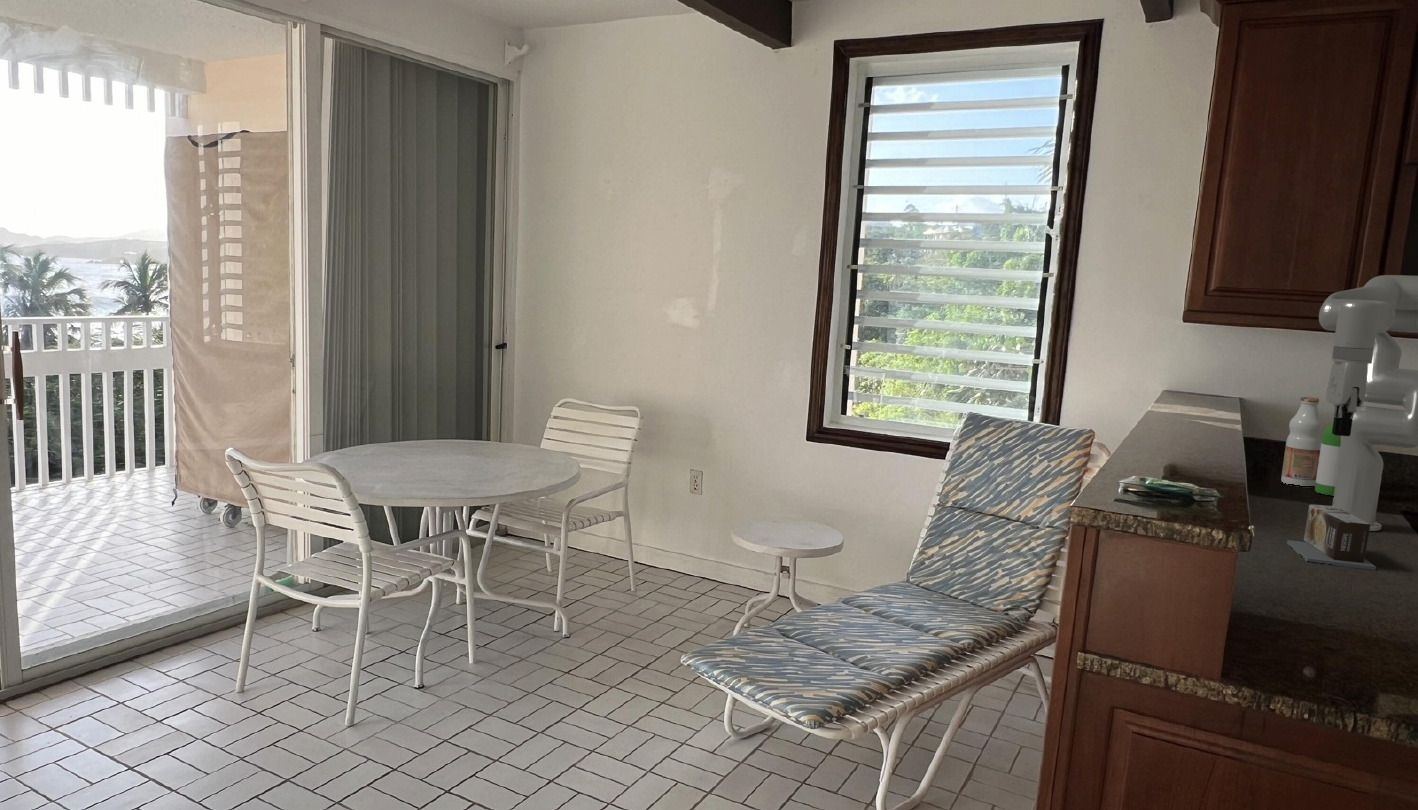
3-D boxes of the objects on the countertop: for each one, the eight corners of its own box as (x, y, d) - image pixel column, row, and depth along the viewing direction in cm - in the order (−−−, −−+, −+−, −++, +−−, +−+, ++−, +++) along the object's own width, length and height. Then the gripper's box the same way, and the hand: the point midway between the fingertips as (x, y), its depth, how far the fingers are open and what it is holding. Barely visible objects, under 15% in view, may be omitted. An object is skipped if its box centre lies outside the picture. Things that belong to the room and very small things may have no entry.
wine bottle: (1351, 498, 273) (1365, 399, 269) (1325, 497, 273) (1339, 398, 269) (1333, 492, 281) (1347, 396, 277) (1308, 491, 281) (1322, 395, 277)
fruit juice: (1273, 481, 294) (1285, 395, 290) (1297, 481, 296) (1309, 396, 292) (1298, 487, 285) (1310, 399, 281) (1322, 487, 287) (1335, 400, 283)
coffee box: (1307, 503, 217) (1338, 519, 201) (1337, 506, 216) (1371, 522, 200) (1302, 541, 218) (1333, 559, 203) (1332, 544, 217) (1365, 563, 201)
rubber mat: (1286, 543, 218) (1287, 540, 218) (1349, 550, 214) (1350, 547, 214) (1307, 562, 203) (1307, 558, 203) (1375, 570, 199) (1375, 566, 199)
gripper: (1322, 352, 214) (1311, 428, 217) (1344, 357, 200) (1332, 439, 203) (1359, 354, 212) (1348, 431, 214) (1384, 359, 198) (1372, 442, 200)
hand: (1340, 435), depth 208 cm, fingers closed
